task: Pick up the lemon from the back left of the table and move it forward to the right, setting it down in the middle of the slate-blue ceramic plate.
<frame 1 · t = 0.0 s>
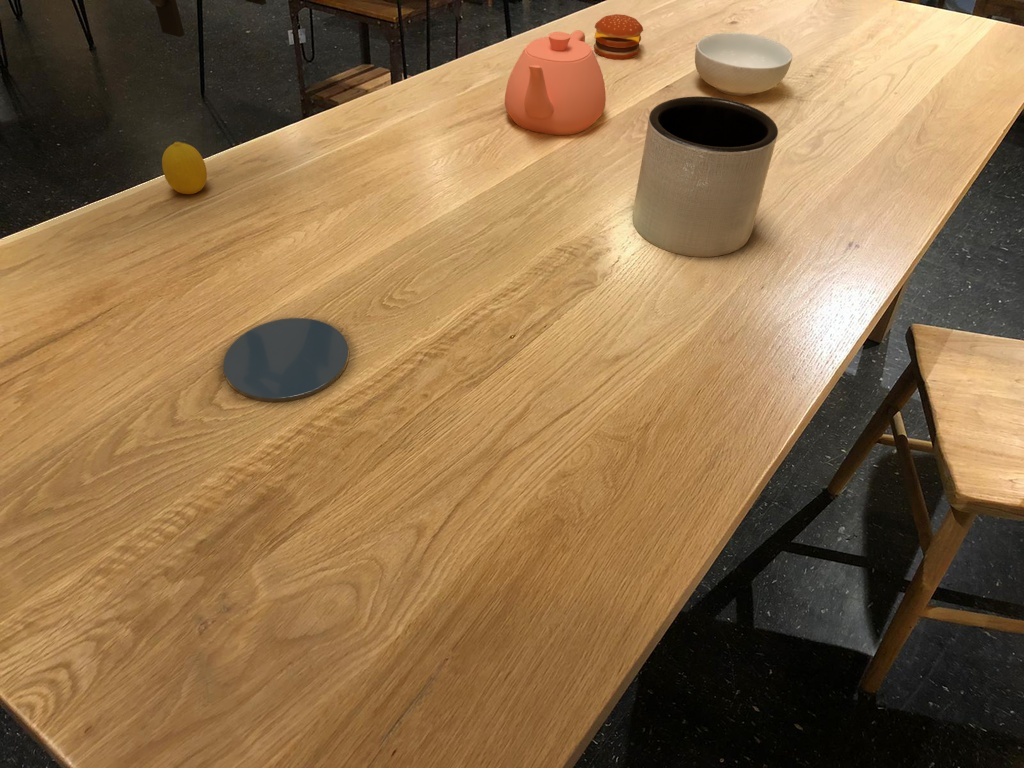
hand: (216, 17, 92), 24 cm above the table, tool pointing down, fingers open, 13 cm apart
planter: (689, 231, 105), on the table
hamburger: (616, 52, 153), on the table
plate: (288, 366, 82), on the table
cereal bowl: (735, 88, 142), on the table
lemon: (192, 197, 108), on the table
teapot: (552, 119, 130), on the table
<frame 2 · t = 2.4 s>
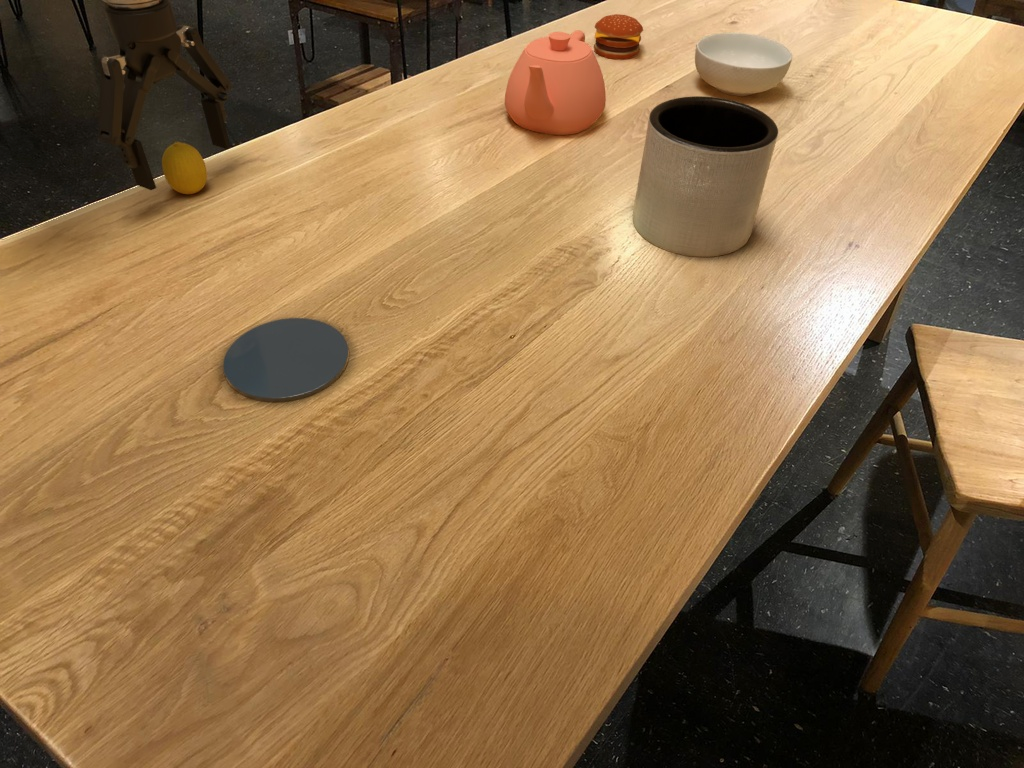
hand: (185, 165, 105), 5 cm above the table, tool pointing down, fingers open, 13 cm apart
nothing on the table moved.
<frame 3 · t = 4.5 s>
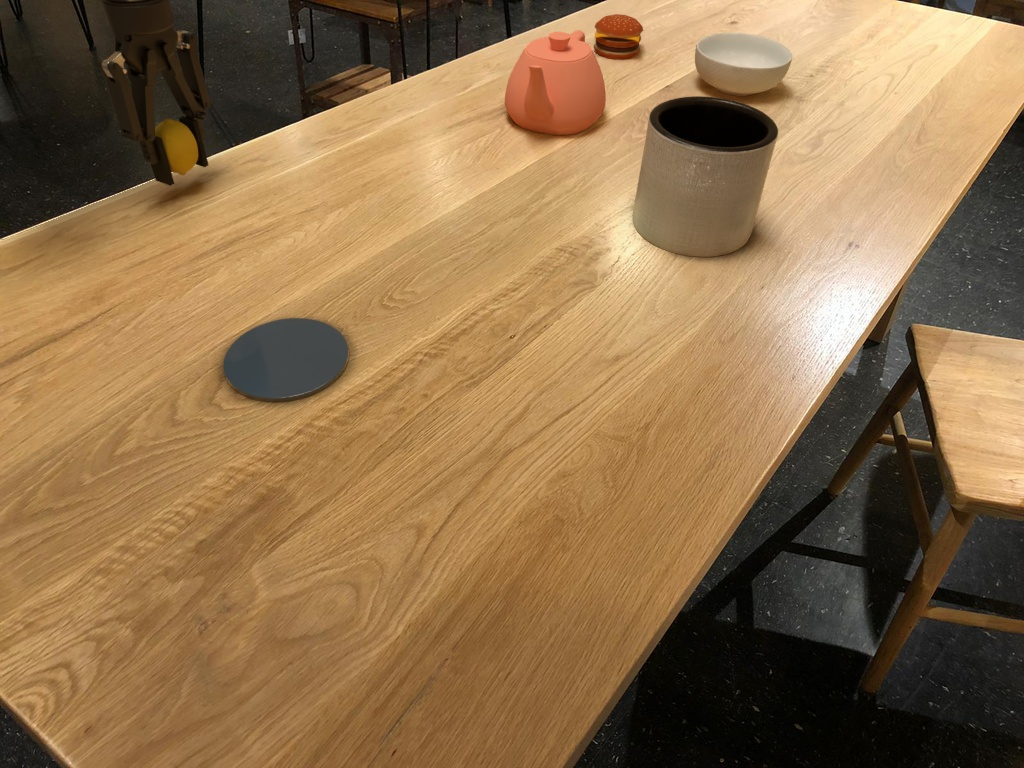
hand: (182, 172, 105), 4 cm above the table, tool pointing down, fingers closed on lemon, 5 cm apart
lemon: (183, 176, 106), point 3 cm above the table, touching gripper
everything else where it was.
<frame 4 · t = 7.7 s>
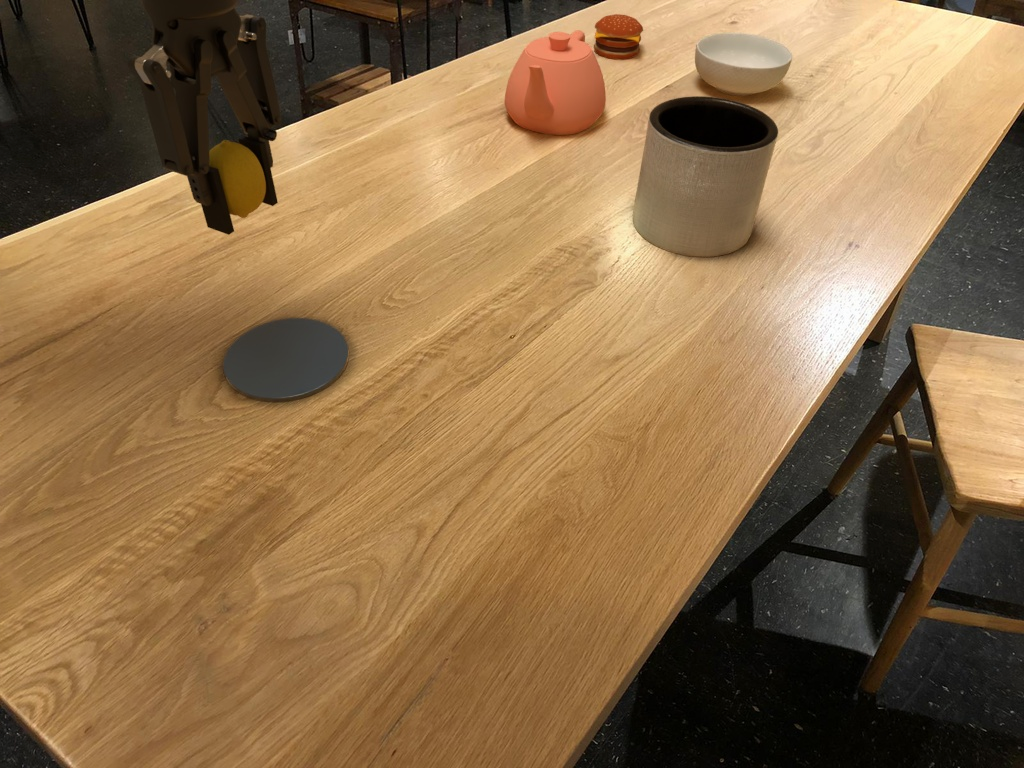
hand: (243, 214, 76), 15 cm above the table, tool pointing down, fingers closed on lemon, 5 cm apart
lemon: (244, 218, 76), point 15 cm above the table, touching gripper
everything else where it was.
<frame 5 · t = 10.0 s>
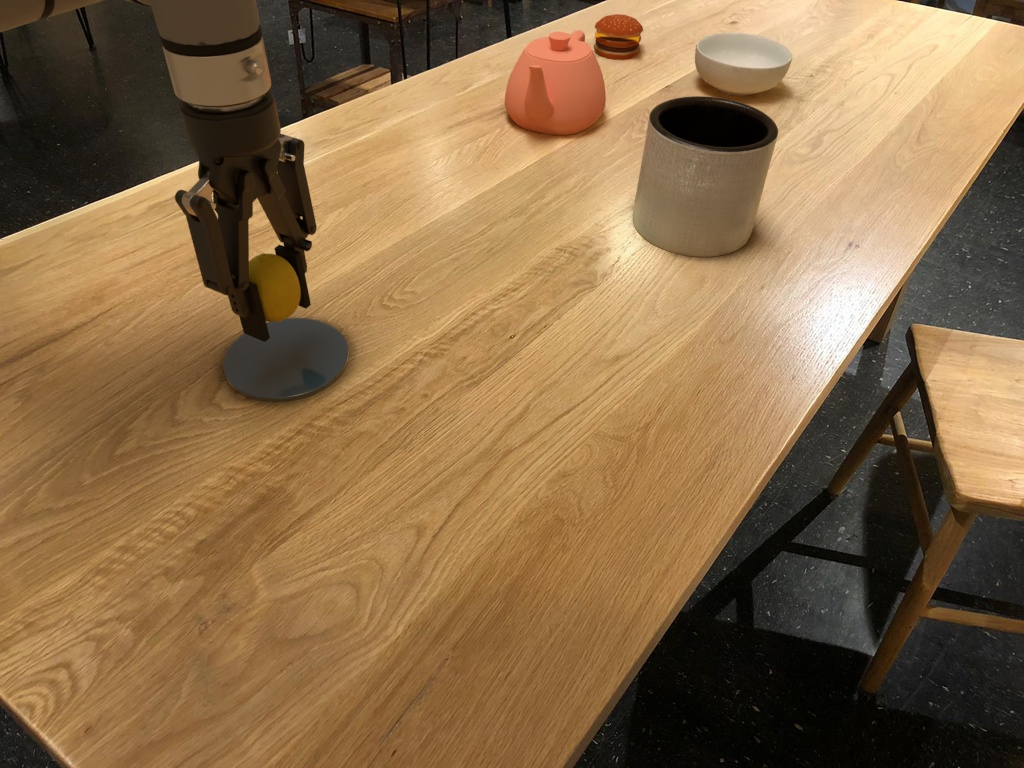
hand: (278, 318, 78), 7 cm above the table, tool pointing down, fingers closed on lemon, 5 cm apart
lemon: (279, 322, 78), point 6 cm above the table, touching gripper
everything else where it was.
when the fingers open (2 cm above the table, at t = 11.3 s): lemon stays where it is, resting on plate.
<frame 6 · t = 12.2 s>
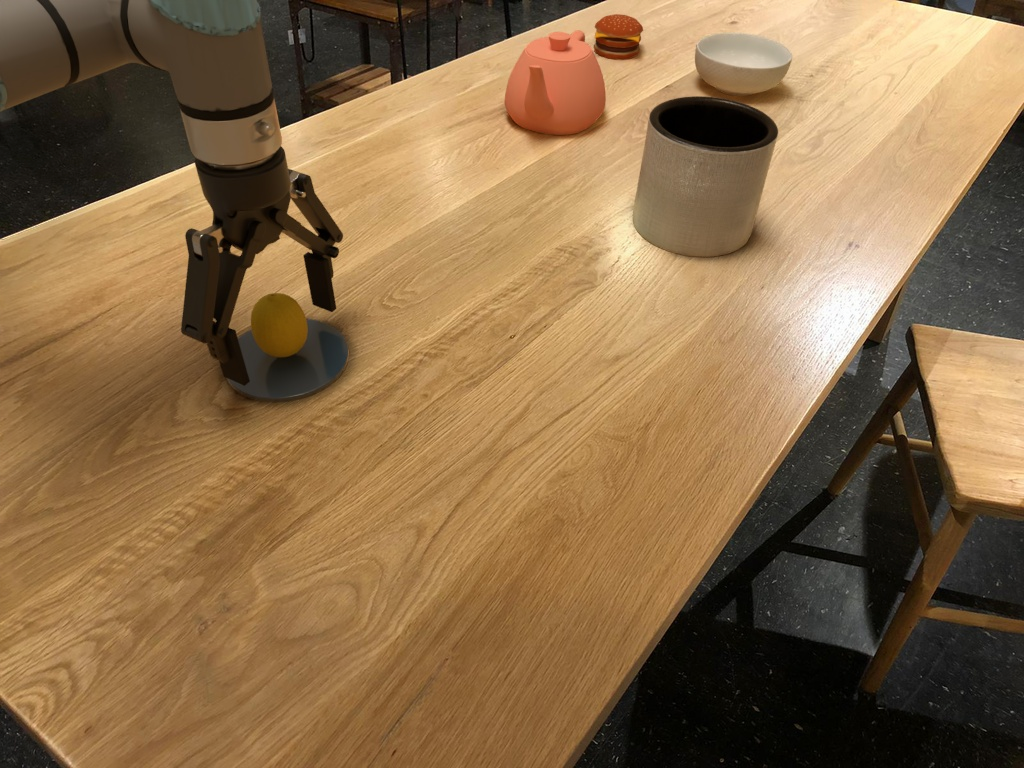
hand: (283, 341, 80), 4 cm above the table, tool pointing down, fingers open, 13 cm apart
lemon: (286, 357, 82), point 1 cm above the table, touching plate
everything else where it was.
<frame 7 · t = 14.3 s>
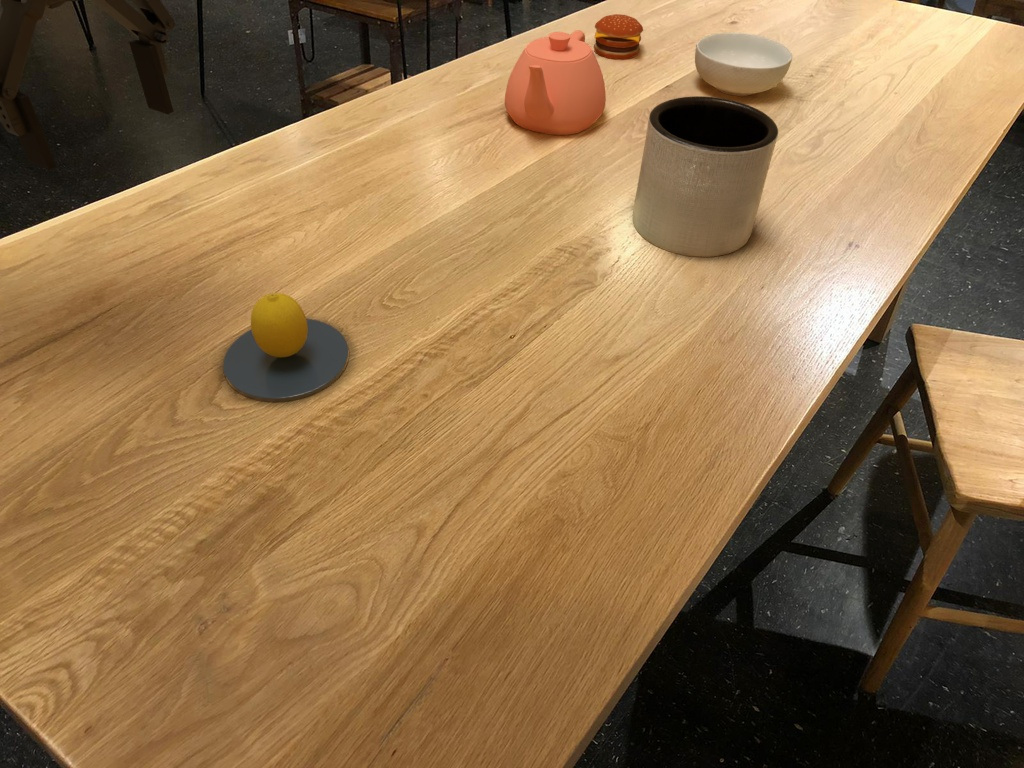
hand: (105, 136, 73), 22 cm above the table, tool pointing down, fingers open, 13 cm apart
nothing on the table moved.
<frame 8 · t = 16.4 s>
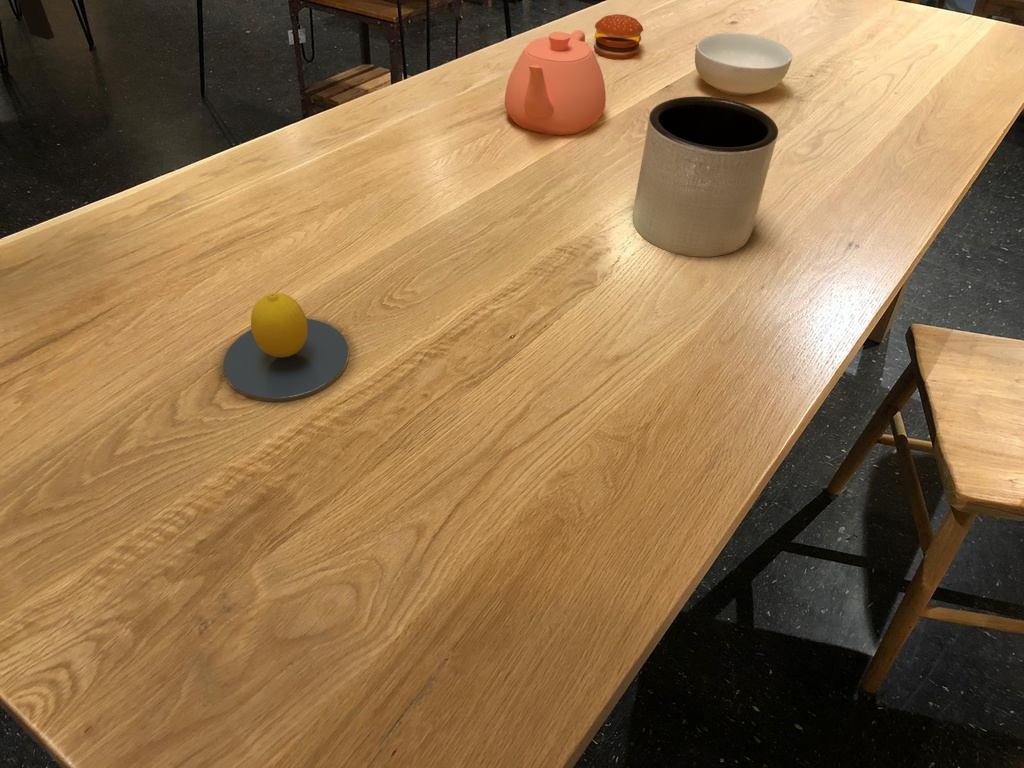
nothing on the table moved.
at the end: lemon inside the target area on the plate (0.0 cm from its centre), point 1.3 cm above the plate's base; the gripper is holding nothing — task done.
